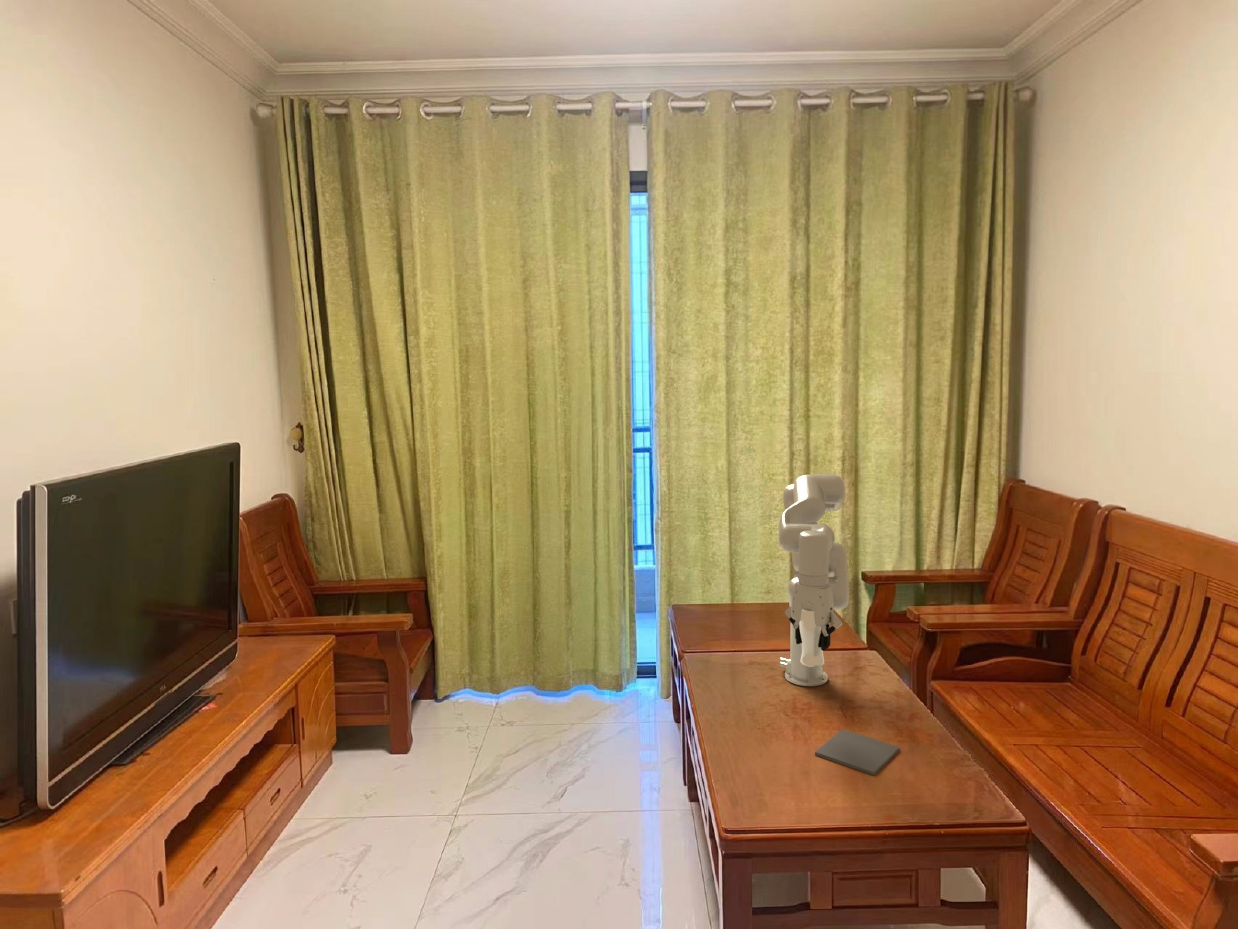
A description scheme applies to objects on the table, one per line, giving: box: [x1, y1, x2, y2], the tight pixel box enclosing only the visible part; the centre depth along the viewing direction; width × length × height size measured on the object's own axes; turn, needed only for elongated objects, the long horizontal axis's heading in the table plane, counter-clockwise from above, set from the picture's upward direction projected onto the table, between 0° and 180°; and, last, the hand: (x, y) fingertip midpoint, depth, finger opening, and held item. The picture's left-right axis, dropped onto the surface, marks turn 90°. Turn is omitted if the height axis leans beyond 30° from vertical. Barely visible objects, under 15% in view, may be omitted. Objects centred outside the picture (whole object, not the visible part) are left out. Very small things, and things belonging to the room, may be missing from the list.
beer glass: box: [799, 609, 825, 667], centre depth 201 cm, size 7×7×15 cm
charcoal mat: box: [814, 729, 900, 776], centre depth 191 cm, size 15×15×1 cm
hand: (812, 645), depth 202 cm, fingers closed on beer glass, 6 cm apart
